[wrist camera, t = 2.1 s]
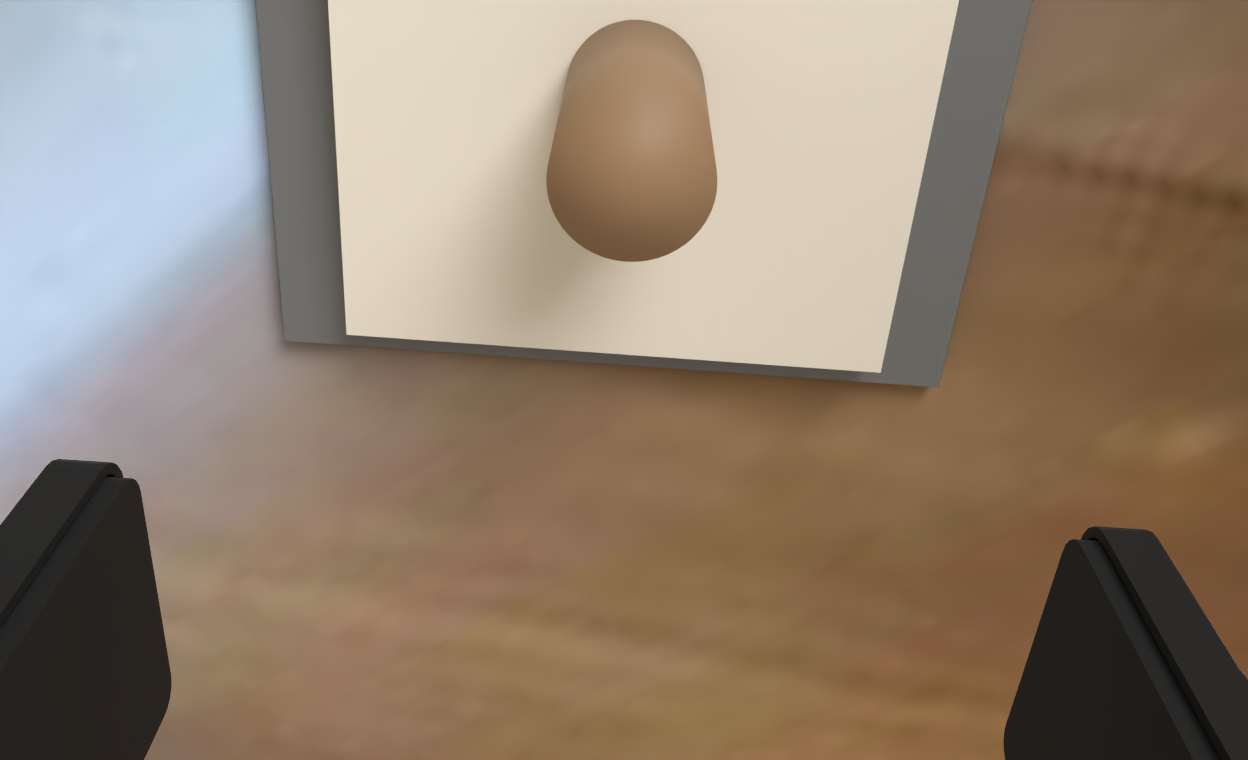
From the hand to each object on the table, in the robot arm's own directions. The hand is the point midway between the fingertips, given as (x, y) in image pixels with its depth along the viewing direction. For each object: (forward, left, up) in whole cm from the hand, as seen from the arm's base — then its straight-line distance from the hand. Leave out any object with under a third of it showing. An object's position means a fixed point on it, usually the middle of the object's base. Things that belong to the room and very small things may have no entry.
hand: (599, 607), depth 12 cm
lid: (0, 0, -19) cm, 19 cm away
